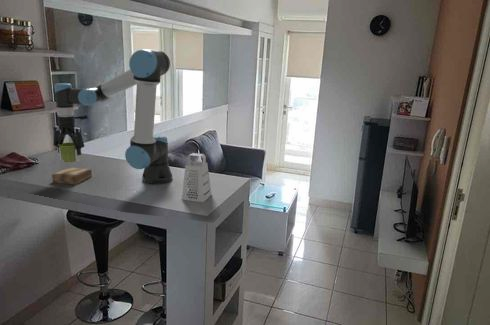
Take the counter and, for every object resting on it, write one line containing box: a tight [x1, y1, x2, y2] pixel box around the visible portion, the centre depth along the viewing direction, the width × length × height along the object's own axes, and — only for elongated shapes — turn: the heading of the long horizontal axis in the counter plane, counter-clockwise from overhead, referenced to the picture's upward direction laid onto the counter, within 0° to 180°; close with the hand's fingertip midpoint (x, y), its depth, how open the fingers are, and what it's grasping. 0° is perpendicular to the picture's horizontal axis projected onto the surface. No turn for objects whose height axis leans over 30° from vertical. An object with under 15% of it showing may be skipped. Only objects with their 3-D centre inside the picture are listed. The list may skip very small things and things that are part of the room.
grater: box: [181, 152, 213, 203], centre depth 168 cm, size 10×10×20 cm
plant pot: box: [58, 141, 76, 163], centre depth 187 cm, size 9×9×9 cm
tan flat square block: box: [51, 166, 93, 185], centre depth 190 cm, size 13×13×4 cm
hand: (70, 160), depth 188 cm, fingers closed on plant pot, 8 cm apart
